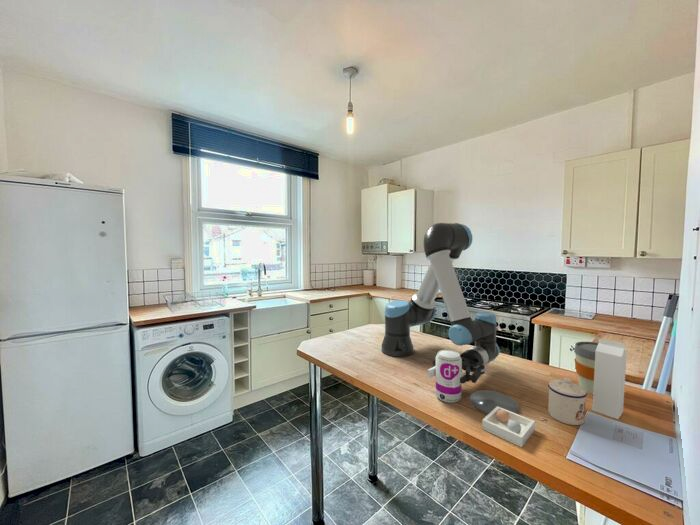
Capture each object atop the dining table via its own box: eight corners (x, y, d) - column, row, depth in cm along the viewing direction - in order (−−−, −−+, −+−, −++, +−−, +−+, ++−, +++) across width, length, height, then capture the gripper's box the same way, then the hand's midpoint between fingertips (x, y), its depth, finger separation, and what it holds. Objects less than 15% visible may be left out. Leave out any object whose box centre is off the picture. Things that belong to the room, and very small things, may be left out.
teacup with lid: (583, 430, 80) (586, 389, 79) (544, 417, 86) (546, 379, 85) (587, 411, 89) (589, 374, 88) (551, 400, 95) (552, 366, 94)
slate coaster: (462, 403, 94) (462, 400, 94) (481, 388, 104) (481, 386, 104) (508, 423, 84) (508, 420, 84) (525, 404, 93) (525, 402, 93)
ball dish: (482, 428, 82) (482, 419, 81) (497, 414, 88) (497, 406, 88) (521, 447, 74) (521, 437, 74) (534, 430, 81) (534, 421, 81)
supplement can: (461, 405, 93) (462, 359, 92) (434, 401, 96) (435, 356, 94) (460, 393, 101) (461, 350, 99) (435, 389, 103) (436, 348, 102)
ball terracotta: (494, 420, 84) (495, 410, 83) (499, 416, 86) (499, 405, 86) (506, 426, 81) (507, 415, 81) (511, 421, 83) (511, 410, 83)
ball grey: (505, 432, 79) (505, 421, 79) (510, 427, 81) (510, 416, 81) (518, 438, 76) (518, 426, 76) (522, 432, 78) (523, 421, 78)
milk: (618, 420, 85) (622, 346, 83) (591, 410, 90) (595, 340, 88) (623, 412, 88) (627, 341, 87) (597, 403, 93) (601, 336, 91)
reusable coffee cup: (572, 391, 101) (574, 349, 100) (572, 377, 111) (574, 338, 110) (622, 403, 93) (624, 357, 92) (617, 387, 103) (619, 345, 102)
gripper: (502, 378, 102) (472, 403, 87) (447, 360, 117) (413, 378, 102) (503, 357, 101) (472, 378, 86) (448, 342, 117) (413, 357, 102)
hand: (440, 378), depth 94 cm, fingers closed on supplement can, 8 cm apart
